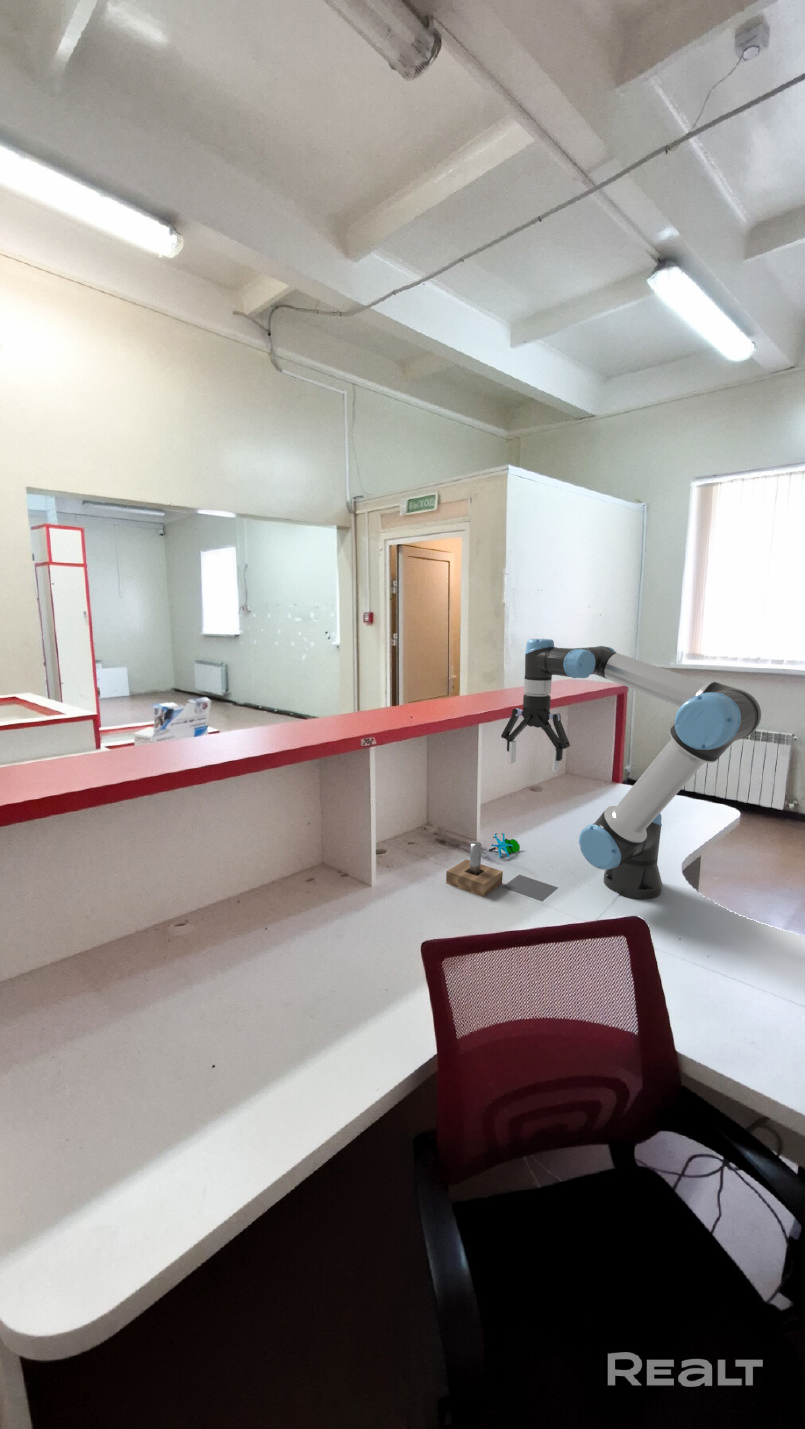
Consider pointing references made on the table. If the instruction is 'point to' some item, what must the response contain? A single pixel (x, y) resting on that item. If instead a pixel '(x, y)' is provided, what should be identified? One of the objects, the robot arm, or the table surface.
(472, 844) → the pin
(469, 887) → the wooden block with hole
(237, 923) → the table surface
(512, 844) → the stick construction toy
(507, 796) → the table surface
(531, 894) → the mat
